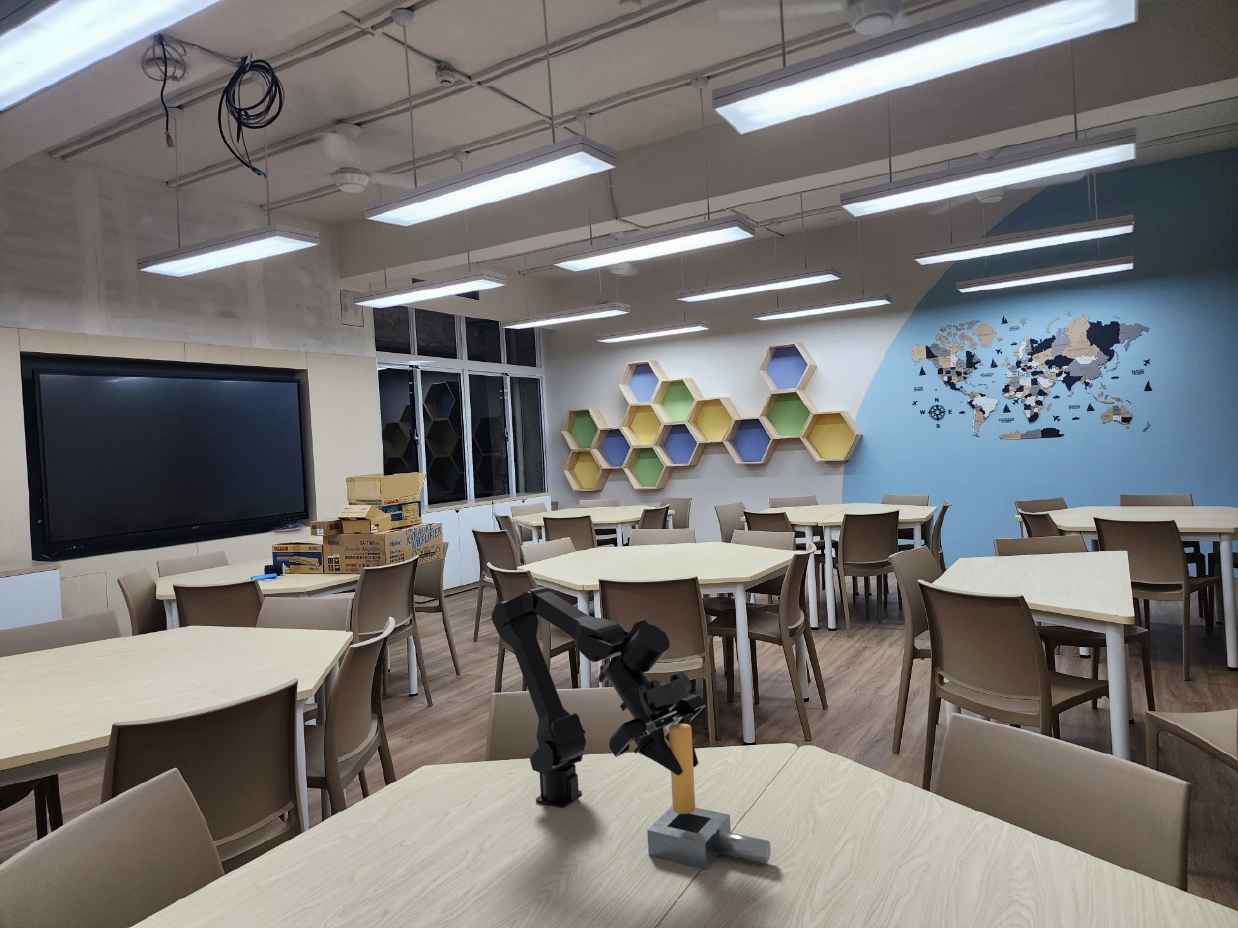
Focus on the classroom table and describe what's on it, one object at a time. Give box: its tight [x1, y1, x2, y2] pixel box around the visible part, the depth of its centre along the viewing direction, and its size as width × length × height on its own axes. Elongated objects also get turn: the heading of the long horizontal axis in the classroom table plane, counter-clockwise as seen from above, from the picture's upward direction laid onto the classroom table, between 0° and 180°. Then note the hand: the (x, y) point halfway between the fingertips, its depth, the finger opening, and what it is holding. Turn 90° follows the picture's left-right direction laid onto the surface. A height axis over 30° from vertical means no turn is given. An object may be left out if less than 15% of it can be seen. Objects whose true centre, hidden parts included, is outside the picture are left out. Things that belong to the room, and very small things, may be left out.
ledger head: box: [646, 805, 772, 870], centre depth 120 cm, size 18×10×4 cm, turn 60°
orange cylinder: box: [668, 724, 696, 814], centre depth 121 cm, size 4×4×13 cm
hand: (688, 769), depth 120 cm, fingers closed on orange cylinder, 4 cm apart
